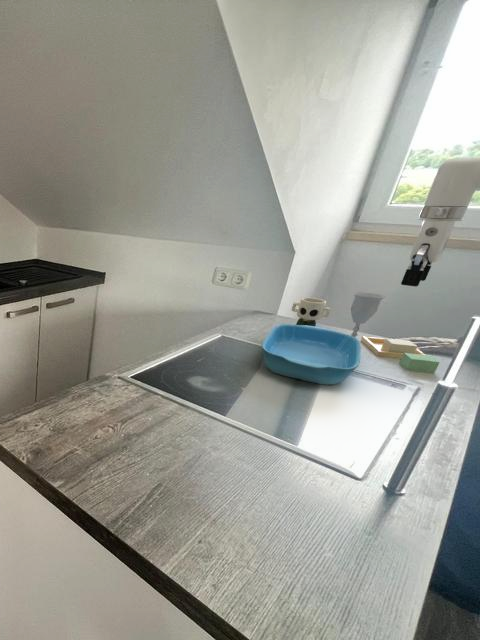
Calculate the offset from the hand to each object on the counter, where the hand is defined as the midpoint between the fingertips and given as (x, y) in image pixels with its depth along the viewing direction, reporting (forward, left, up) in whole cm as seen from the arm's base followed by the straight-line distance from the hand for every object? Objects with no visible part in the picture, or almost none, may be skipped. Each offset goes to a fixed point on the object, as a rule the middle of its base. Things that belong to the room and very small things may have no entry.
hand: (412, 282), depth 103 cm
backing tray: (-9, -19, -26) cm, 33 cm away
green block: (-10, -5, -26) cm, 28 cm away
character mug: (+13, -27, -26) cm, 39 cm away
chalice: (+2, -18, -26) cm, 31 cm away
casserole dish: (+18, +2, -26) cm, 32 cm away
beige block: (-9, -15, -25) cm, 31 cm away
